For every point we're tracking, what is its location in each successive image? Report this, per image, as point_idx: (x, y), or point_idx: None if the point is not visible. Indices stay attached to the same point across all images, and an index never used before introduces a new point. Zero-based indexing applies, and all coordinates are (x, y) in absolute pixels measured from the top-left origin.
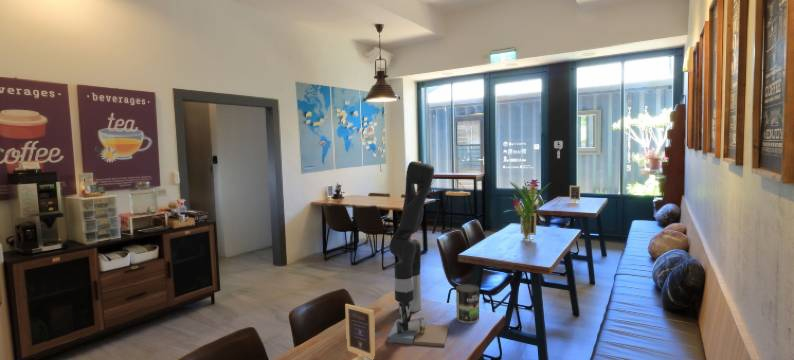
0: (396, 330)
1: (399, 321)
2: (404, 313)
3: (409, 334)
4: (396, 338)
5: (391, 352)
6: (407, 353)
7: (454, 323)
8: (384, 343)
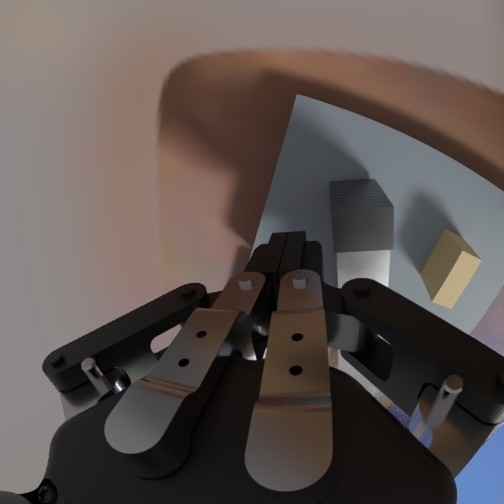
0: (395, 178)
1: (374, 236)
2: (83, 371)
3: None
4: (280, 158)
5: (168, 118)
6: (158, 207)
7: (401, 423)
8: (287, 70)
